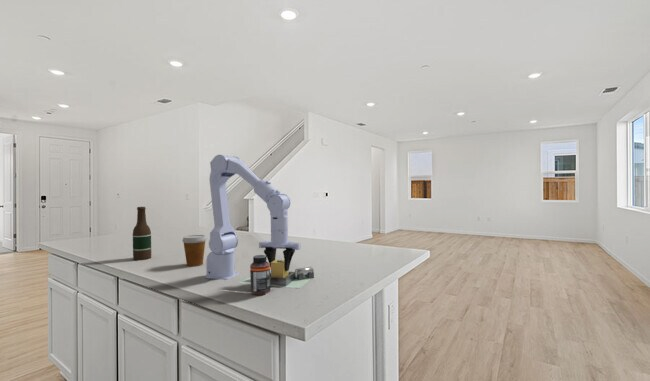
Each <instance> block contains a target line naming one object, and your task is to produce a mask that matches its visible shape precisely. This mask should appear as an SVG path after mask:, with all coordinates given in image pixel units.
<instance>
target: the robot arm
mask: <svg viewBox="0 0 650 381" xmlns="http://www.w3.org/2000/svg"><path fill="white" fill-rule="evenodd" d="M209 165H210V173H209V187H210V197H211V207H212V214H213V224H214V227H212V228H213V229H212V230H211V231H210V232H209V241H208V248H209V250H210V251H211V252H208V254H207V256H206V262H205V263H206V264H205V265H206V267H205V268H206V276H205V277H204V278H205V279H211V280H212V279H213V280H216V279H218V280H230V279H233V278H234V277H236V276H238V275H239V274H240V272H235V268H236V267H235V252H236V248H237V247H238V245H239V238H238V236H237V234H236V233H237V232H236V229H235V227H233V225H232V224H231V218H230V211H229V209H230V208H229V202H228V192H227V184H226V183H227V182H228V180H230V179H231V178H232V177H233V176H235V175H238V176H240V178H242V179H243V180H244V181H245V182H247V184H249V185H250V186H251V187H253V192H254V194H256V195H257V196H258V197H259V198H260V199H261V200H262V201H263V202H264V203H266V207H267V209H268V211H269V215H270V241H260V242H258V249H264V250H263V253H264V255H266V259H267V262H268V263H269V264H270V269H271V262H273V261H274V260H276V256H277V249H280V250H281V249H282V254H283V260H284V262H285V264H284V268H285V271H288V270H290V266H291V262H292V258H293V256H294V254H295V252H296V251H300V250H301V244H302V243H301V242H291V241H289V227H288V226H289V220H288V218H289V217H288V210H289V208H290V207H291V199H290V198H289V196H288V194H286V193H281V190H280V189H276V188H275V187H274V186H273V185H272V184H271V183H272V182H271V181H270V180H266V179H260V178H259V177H258V176H257V175H256V174H255V173H254V172H253V171H252V170H251V169H250V168H249V167H248V166H247V165H246V164H245V162H244V161H243V160H242V159H240V158H239V157H238V156H231V155H230V156H229V155H224V154H217V155H215V156H214V157H213V159H211V161H210V162H209Z"/></svg>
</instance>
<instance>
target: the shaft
mask: <svg viewBox="0 0 650 381" xmlns="http://www.w3.org/2000/svg"><path fill="white" fill-rule="evenodd" d="M294 272H296V279H298V280H303V279H304V276H306V277H307V278H309V279H310V278H311V279H314V278H315V276H314V275H315V272H314V267H312V266H307V267H299V268H295V269H294ZM311 279H310V280H311Z"/></svg>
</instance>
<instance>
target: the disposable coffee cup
mask: <svg viewBox="0 0 650 381" xmlns="http://www.w3.org/2000/svg"><path fill="white" fill-rule="evenodd" d="M206 241H207V237H206V235H205V234H192V235H185V236H183V238H182V243H183V247H184V248H183V249H184V254H185V255H184V256H185V260H186V266H187V267H199V266H202V265H204V259H205V258H204V256H205V249H206V248H205V247H206Z"/></svg>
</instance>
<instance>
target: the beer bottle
mask: <svg viewBox="0 0 650 381" xmlns="http://www.w3.org/2000/svg"><path fill="white" fill-rule="evenodd" d="M136 210H137V217H136V224H135V226H134V228H133V230H132V258H133V260H134V261H144V260H145V261H146V260H150V259H151V258H152V232H151V228H150V226H149V225H148V223H147V218H146V217H147V216H146V210H147V208H146V206H137V207H136Z"/></svg>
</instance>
